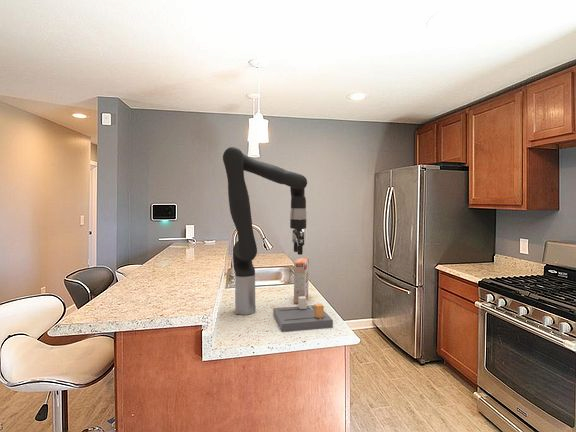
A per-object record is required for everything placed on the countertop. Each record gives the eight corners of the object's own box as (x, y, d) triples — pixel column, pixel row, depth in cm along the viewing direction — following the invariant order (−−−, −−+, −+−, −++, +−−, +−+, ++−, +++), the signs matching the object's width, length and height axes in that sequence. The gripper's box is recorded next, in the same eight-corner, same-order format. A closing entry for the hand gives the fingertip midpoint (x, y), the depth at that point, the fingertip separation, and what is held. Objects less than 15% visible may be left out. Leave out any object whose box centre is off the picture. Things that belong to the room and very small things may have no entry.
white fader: (300, 309, 142) (299, 298, 141) (298, 307, 144) (298, 296, 144) (306, 308, 142) (306, 298, 142) (304, 306, 145) (304, 296, 145)
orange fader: (316, 317, 131) (316, 306, 130) (314, 315, 134) (314, 304, 133) (323, 317, 131) (323, 305, 131) (321, 314, 134) (321, 303, 134)
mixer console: (281, 331, 125) (281, 323, 125) (273, 314, 145) (273, 307, 145) (332, 327, 130) (332, 319, 129) (318, 311, 149) (318, 304, 149)
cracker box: (305, 304, 160) (305, 262, 159) (293, 303, 161) (293, 262, 160) (309, 296, 173) (309, 257, 173) (298, 295, 175) (298, 257, 174)
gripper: (287, 217, 155) (287, 251, 156) (293, 218, 141) (293, 255, 142) (302, 217, 157) (302, 250, 157) (310, 218, 143) (309, 255, 143)
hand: (298, 253), depth 149 cm, fingers open, 8 cm apart
